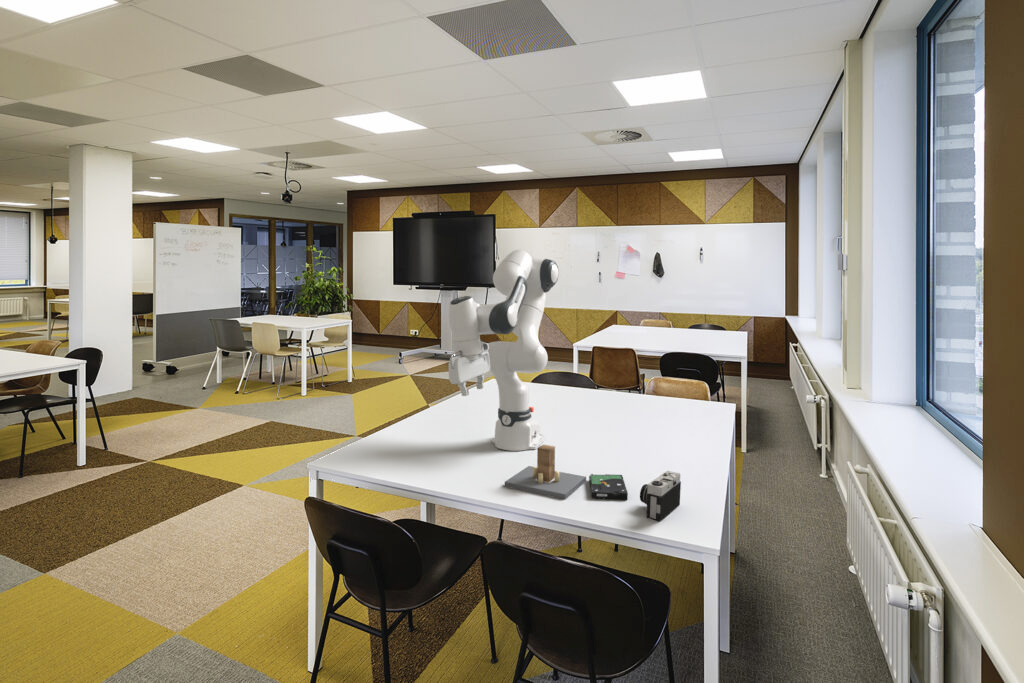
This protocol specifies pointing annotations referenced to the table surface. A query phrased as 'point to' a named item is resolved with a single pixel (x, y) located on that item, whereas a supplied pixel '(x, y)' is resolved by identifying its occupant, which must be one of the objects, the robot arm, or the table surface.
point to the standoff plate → (546, 483)
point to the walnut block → (546, 462)
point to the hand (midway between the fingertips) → (472, 392)
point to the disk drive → (608, 487)
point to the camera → (661, 495)
